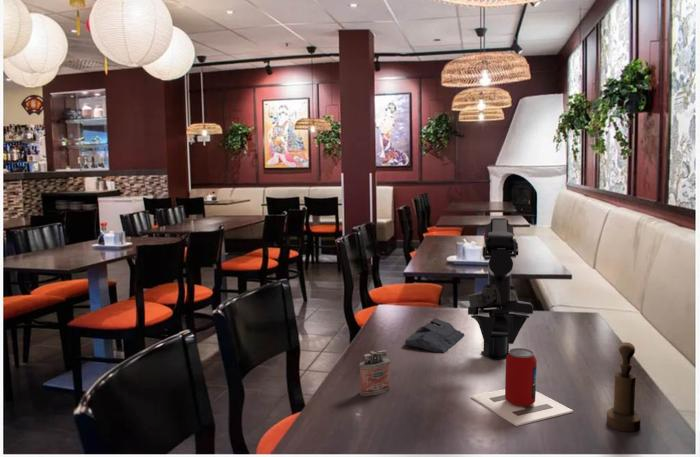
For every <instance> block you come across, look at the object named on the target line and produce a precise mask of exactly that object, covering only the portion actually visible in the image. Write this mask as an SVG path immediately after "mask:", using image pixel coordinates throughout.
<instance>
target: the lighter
mask: <svg viewBox="0 0 700 457" xmlns="http://www.w3.org/2000/svg"><path fill="white" fill-rule="evenodd" d="M387 356H388V351H387V350H386V349H384V350H379V351H377V352H375V351H373V350H372V351H369V353H366V354H363V359H364V361H362V362H360V363H359V368H360V378H359V379H360V388H359V395H360V396H363V397H368V396H375V395H380V394H383V393H386V392H390V390H391V386H390V364H391V360H390V359H389V358H385V357H387Z"/></svg>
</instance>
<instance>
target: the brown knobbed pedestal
mask: <svg viewBox="0 0 700 457" xmlns="http://www.w3.org/2000/svg"><path fill="white" fill-rule="evenodd" d="M618 351H619V354H620V355H621V357H622V361H621V362H619V366H620V371H617V372H615V373H614V394H613V396H614V397H613V407H611V408H610V409H608V410H607V412H606V424H607V425H608V426H609V427H610V428H612V429H614V430H617V431H619V432H625V433H632V432H638V431H640V429H641V418H642V417H641V415H639V414H638V413H637V412H636V410H635V401H636V400H635V399H636V397H635V396H636V381H637V377H636V376H637V375H636V374H634V373H632V372H631V371H632V367H633V364H632V363H631V359H632V357H633V356H634V354H636V348H635V346H634V344H632V343H631V342H626V341H625V342H622V343H620V345H619V347H618Z"/></svg>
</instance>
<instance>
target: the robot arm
mask: <svg viewBox="0 0 700 457" xmlns="http://www.w3.org/2000/svg"><path fill="white" fill-rule="evenodd" d="M483 236H484V237H483V238H484V240H483V242H484V244H485V246H484V257H485V258H489V261H488V267H487V268H488V271H487V272H488V273H487V277H488V278H487V279H488V280H487V284H484V286H483V289H481V290H482V291H479V292H474V293H472V294H468V295H467V298H468V299H467V300H468V302H469V306H468V307H467V315H469V316H470V317H471V318H472V319H474V320H475V322H477V324H478V326H479V330H480V333H481V336H482V339H483V350H482V351H480V353H481V355H484V356H485V357H488V358H490V359H492V360H493V361H494V360H495V361H497V360H501V359H506V357H507V355H508V353H509V351H510V345H513V344H514V343H515V340H516V339H517V337H518V335H519V333H520V331H521V329H522V327H523V325H524V324H525V322H526V321H527V319H529V318H530V315H533V314H534V305H533V304H532V303H531V302H529V301H522V300H512V297H511V296H512V291H515V290H516V288H515V286H514V285H512V271H513V267H514V260H513V259H516V258H517V256H519V243H518V242H517V239H516V238H514V227H513V225H511V224H510V223H509V219H508V218H506V217H493V218H490V221H489V223H487V224H486V225H485V226H484V235H483Z"/></svg>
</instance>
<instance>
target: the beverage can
mask: <svg viewBox="0 0 700 457" xmlns="http://www.w3.org/2000/svg"><path fill="white" fill-rule="evenodd" d="M537 362H538V361H537V358H536V356H535V354H534V351H532V350H530V349H527V348H522V347H521V348H519V347H518V348H517V347H515V348H511V349H509V353H508V355H507V357H506V358H505V381H504V382H505V383H504V386H505V387H504V389H505V399H506V400H507V401H508V402H510V403H511V404H512V405H515V406H520V407H526V406H529V405H531V404H533V403H534V402H535V395H536V391H537V389H536V388H537V366H538V365H537V364H538V363H537Z"/></svg>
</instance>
